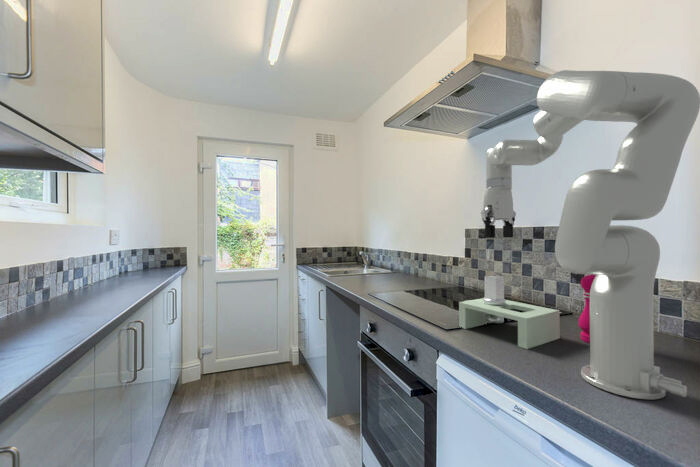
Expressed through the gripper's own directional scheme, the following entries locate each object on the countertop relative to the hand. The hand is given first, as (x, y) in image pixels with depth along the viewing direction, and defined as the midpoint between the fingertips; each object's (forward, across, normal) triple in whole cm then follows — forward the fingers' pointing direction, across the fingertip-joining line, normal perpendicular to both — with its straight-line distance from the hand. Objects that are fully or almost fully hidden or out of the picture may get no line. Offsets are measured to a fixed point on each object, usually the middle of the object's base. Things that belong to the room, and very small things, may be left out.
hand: (499, 237), depth 100 cm
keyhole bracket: (+29, +5, +5) cm, 30 cm away
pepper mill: (+29, -8, +23) cm, 38 cm away
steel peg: (+26, +5, +1) cm, 27 cm away
